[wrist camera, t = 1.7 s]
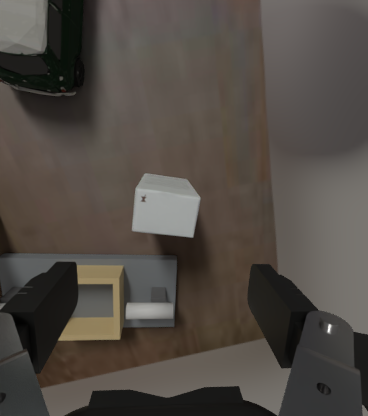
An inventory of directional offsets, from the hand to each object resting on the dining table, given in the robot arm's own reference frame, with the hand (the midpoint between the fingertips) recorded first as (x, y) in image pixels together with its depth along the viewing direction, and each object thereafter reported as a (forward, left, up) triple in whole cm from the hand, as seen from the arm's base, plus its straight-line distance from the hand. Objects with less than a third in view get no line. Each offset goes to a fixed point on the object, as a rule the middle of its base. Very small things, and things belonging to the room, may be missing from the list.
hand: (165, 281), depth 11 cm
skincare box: (0, 0, -24) cm, 24 cm away
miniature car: (-14, +20, -24) cm, 34 cm away
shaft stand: (-10, -15, -24) cm, 30 cm away
